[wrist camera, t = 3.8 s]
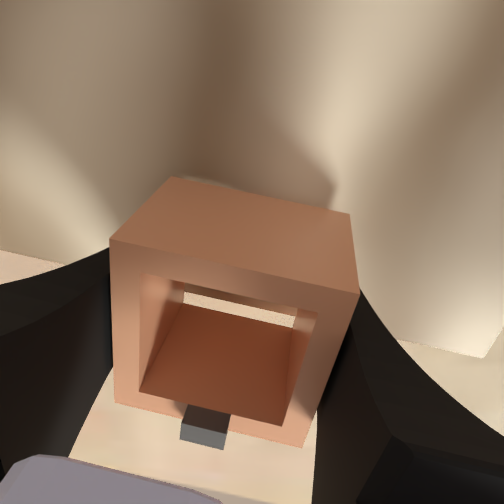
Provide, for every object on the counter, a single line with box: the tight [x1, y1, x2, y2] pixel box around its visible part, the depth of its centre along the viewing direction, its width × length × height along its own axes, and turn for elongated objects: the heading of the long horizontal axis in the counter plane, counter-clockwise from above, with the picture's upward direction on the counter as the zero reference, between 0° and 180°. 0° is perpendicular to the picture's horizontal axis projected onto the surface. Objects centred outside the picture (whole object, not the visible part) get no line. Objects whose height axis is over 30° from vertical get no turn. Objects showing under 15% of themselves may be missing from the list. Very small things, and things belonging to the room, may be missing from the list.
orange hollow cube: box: [109, 176, 360, 450], centre depth 11 cm, size 5×5×5 cm
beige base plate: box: [0, 0, 504, 359], centre depth 11 cm, size 20×16×2 cm
